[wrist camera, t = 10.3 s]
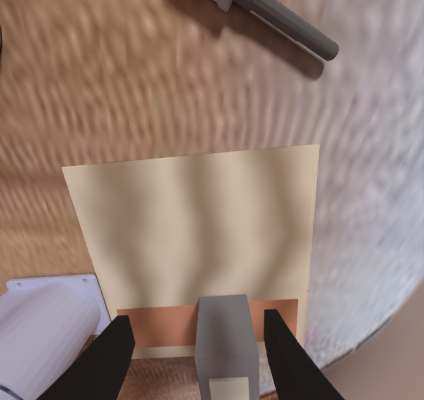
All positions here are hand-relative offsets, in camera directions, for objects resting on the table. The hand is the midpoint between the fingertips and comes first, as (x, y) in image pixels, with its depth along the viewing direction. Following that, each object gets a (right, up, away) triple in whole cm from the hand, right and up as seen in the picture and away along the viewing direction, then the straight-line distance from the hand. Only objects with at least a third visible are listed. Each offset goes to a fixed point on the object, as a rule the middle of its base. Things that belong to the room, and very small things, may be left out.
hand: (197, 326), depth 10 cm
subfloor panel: (0, -1, +10) cm, 10 cm away
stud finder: (+2, -7, +12) cm, 14 cm away
